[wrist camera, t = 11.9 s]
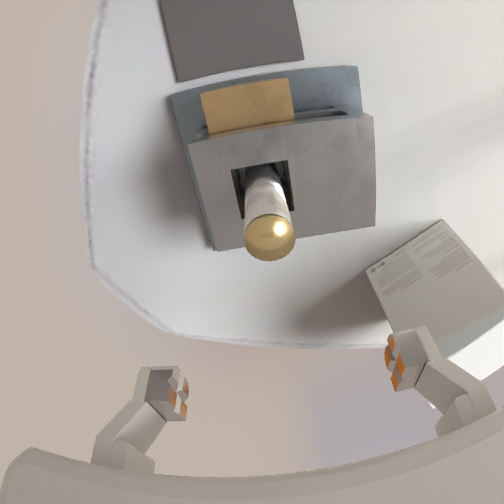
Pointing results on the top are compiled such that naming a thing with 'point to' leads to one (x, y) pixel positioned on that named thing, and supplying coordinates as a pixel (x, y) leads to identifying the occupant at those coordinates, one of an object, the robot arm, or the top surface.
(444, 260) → the supplement box
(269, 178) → the pin
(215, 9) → the mat
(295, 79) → the grey layered square block
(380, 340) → the top surface
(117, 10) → the top surface
